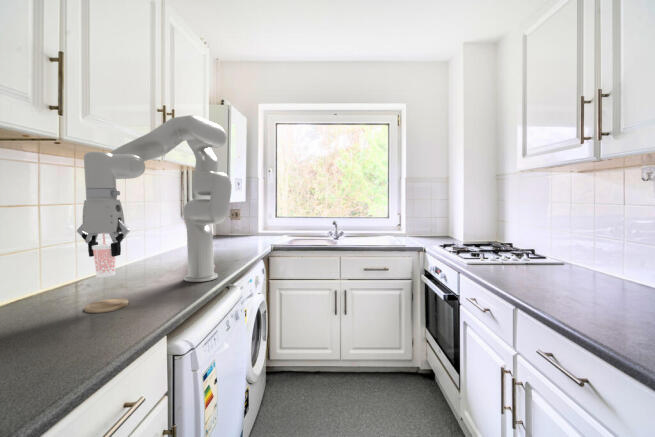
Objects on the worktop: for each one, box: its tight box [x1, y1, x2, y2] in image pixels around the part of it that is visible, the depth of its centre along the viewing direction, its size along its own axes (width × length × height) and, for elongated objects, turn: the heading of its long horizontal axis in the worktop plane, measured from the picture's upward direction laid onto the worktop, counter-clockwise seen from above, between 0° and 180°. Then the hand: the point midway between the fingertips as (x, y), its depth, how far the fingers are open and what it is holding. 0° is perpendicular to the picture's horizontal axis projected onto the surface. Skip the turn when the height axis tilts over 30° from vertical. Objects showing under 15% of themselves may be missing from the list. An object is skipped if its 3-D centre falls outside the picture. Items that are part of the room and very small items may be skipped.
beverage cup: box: [92, 234, 116, 278], centre depth 101 cm, size 6×6×14 cm
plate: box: [84, 298, 129, 314], centre depth 102 cm, size 11×11×1 cm
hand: (104, 255), depth 101 cm, fingers closed on beverage cup, 6 cm apart
